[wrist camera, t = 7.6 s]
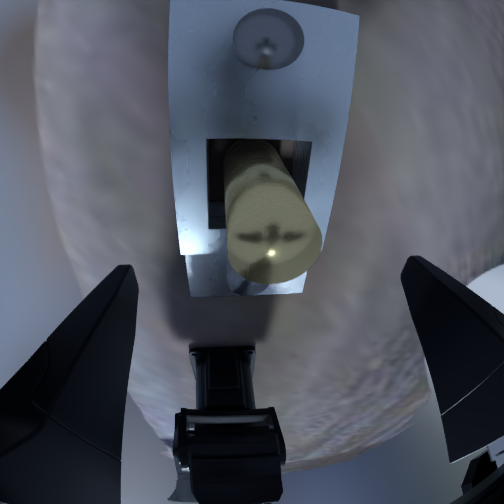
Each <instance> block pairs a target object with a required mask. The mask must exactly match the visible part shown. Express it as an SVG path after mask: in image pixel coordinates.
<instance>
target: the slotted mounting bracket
mask: <svg viewBox="0 0 504 504" xmlns="http://www.w3.org/2000/svg"><path fill="white" fill-rule="evenodd" d="M358 29H359V16H358V15H354V14H350V13H347V12H343V11H339V10H334V9H330V8H325V7H321V6H315V5H310V4H304V3H298V2H291V1H284V0H170V14H169V41H168V98H169V127H170V146H171V162H172V175H173V187H174V198H175V208H176V218H177V227H178V236H179V244H180V252H181V255H185V258H186V266H187V274H188V281H189V288H190V295H191V297H215V296H251V295H268V294H288V293H302V290H303V286H304V282H305V278H306V274H307V271H306V272H305V273H304V274H302V275H300V276H299V277H297V278H295V279H293V280H290V281H287V282H284V283H279V284H260V283H255V282H252V281H249V280H247V279H245V278H243V277H242V276H240V275H239V274H238V273H237V272H236V271H235V270H234V269H233V267H232V265H231V263H230V261H229V258H228V250H227V233H226V214H225V202H210V194H209V139H220V138H245V139H279V140H295V147H294V155H293V164H292V173H291V177H292V179H293V180H294V182H295V184H296V186H297V188H298V189H299V191H300V193H301V195H302V197H303V198H304V200H305V202H306V204H307V206H308V207H309V209H310V211H311V213H312V215H313V217H314V219H315V221H316V222H317V224H318V226H319V228H320V231H321V234H322V248H323V244H324V240H325V235H326V231H327V227H328V222H329V218H330V213H331V209H332V204H333V199H334V194H335V189H336V184H337V179H338V174H339V169H340V164H341V158H342V153H343V147H344V141H345V135H346V129H347V123H348V116H349V109H350V102H351V95H352V87H353V79H354V71H355V62H356V52H357V41H358ZM321 251H322V249H321Z"/></svg>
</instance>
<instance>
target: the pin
mask: <svg viewBox="0 0 504 504" xmlns="http://www.w3.org/2000/svg"><path fill="white" fill-rule="evenodd" d="M223 170H224V193H225V214H226V233H227V250H228V258H229V261H230V263H231V265H232V267H233V269H234V270H235V271H236V272H237V273H238V274H239V275H240V276H242V277H243V278H245V279H247V280H249V281H252V282H255V283H260V284H279V283H284V282H287V281H290V280H293V279H295V278H297V277H299V276H300V275H302V274H304V273H305V272H306V271H307V270H308V269H309V268H311V267H312V265H313V264H314V263H315V262H316V260H317V258H318V257H319V254H320V252H321V249H322V234H321V231H320V228H319V226H318V224H317V222H316V221H315V219H314V217H313V215H312V213H311V211H310V209H309V207H308V206H307V204H306V202H305V200H304V198H303V197H302V195H301V193H300V191H299V189H298V188H297V186H296V184H295V182H294V180H293V179H292V177H291V175H290V174H289V172H288V170H287V168H286V167H285V165H284V163H283V161H282V160H281V158H280V156H279V155H278V153H277V151H276V150H275V148H274V147H273V146H272V145H271V144H270V143H269V142H267V141H265V140H263V139H245V138H244V139H241V140H239V141H237V142H236V143H234V144H233V145H232V146H231V147H230V148H229V149H228V150H227V152H226V154H225V157H224V161H223Z"/></svg>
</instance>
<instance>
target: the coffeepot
mask: <svg viewBox="0 0 504 504" xmlns="http://www.w3.org/2000/svg"><path fill="white" fill-rule="evenodd" d="M174 460H175V466H176V470H177V474H178V480H177V484H176V489H175V491H174V492H173V494H172V495H171V496H170V498H168V500H169V501H172V502H176V503H180V504H199V503H198V502H197V500H196V499H195V497H194V495H193V494H192V492H191V486H190V473H189V472H186V471H182V470H181V464H179V460H178V459H176V458H175V457H174Z"/></svg>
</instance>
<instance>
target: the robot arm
mask: <svg viewBox="0 0 504 504" xmlns="http://www.w3.org/2000/svg"><path fill="white" fill-rule="evenodd" d="M401 282H402V286H403V289H404V292H405V296H406V299H407V303H408V306H409V310H410V313H411V317H412V320H413V322H414V325H415V328H416V331H417V334H418V337H419V340H420V343H421V346H422V349H423V352H424V355H425V358H426V361H427V365H428V368H429V371H430V375H431V378H432V382H433V385H434V389H435V393H436V397H437V401H438V405H439V409H440V413H441V419H442V423H443V428H444V433H445V439H446V444H447V450H448V456H449V461H450V463H453V462H455V461H457V460H459V459H462V458H464V457H466V456H468V455H470V454H472V453H474V452H476V451H478V450H480V449H482V448H484V447H485V446H486V447H487V450H485V451H484V452H482V453H481V454H480V455H478V456H477V457H476V458H474V459H473V460H471V461H470V464H469V467H468V470H467V473H466V476H465V478H464V481H463V483H462V486H461V488H462V492H463V495H462V496H461V497H459V498H458V499H457V500H455V501H453V502H452V503H450V504H504V314H503V313H501V312H500V311H499V310H497V309H496V308H495V307H492V305H491V304H489V303H488V302H486V301H485V300H484V299H482V298H481V297H480V296H478V295H477V294H475V293H474V292H473V291H472V290H470V289H469V288H467V287H466V286H465V285H463V284H462V283H460V282H459V281H457V280H456V279H454V278H453V277H452V276H450V275H449V274H447V273H446V272H444V271H443V270H441V269H440V268H438V267H437V266H435V265H434V264H432V263H430V262H429V261H427V260H426V259H424V258H423V257H421V256H418V255H417V256H410V257H409V258H408V259H407V261H406V264H405V266H404V268H403V270H402V272H401ZM138 293H139V288H138V283H137V280H136V276H135V273H134V269H133V267H132V266H131V265H118V266H117V267H116V268H115V269H114V270H113V271H112V272H111V273H110V274H109V275H107V276H106V277H105V278H104V279H103V280H102V281H101V282H100V283H99V284H98V285H97V286H96V287H95V288H94V289H93V290H92V291H91V292H90V293H89V294H88V295H87V296H86V297H85V298H84V299H83V300H82V302H81V303H80V304H79V305H78V306H77V307H76V308H75V309H74V310H73V311H72V312H71V313H70V314H69V315H68V316H67V317H66V318H65V319H64V321H63V322H62V323H61V324H60V325H59V326H58V327H57V328H56V329H55V331H53V333H52V334H51V335H50V336H49V337H48V338H47V341H45V342H44V343H43V344H42V345H41V346H40V347H39V348H38V350H37V351H36V352H35V353H34V354H33V355H32V356H31V357H30V359H29V360H28V361H27V362H26V363H25V364H24V365H23V366H22V367H21V368H20V369H19V370H18V371H17V372H16V373H15V375H14V376H13V377H12V378H11V379H10V380H9V381H8V382H7V383H6V384H5V385H4V386H3V387H2V388H1V389H0V504H121V498H120V497H121V461H120V460H121V451H122V437H123V424H124V413H125V403H126V395H127V387H128V379H129V372H130V365H131V359H132V352H133V346H134V340H135V331H136V316H137V304H138ZM255 354H256V351H255V348H254V347H234V348H199V349H190V350H189V357H190V361H191V365H192V369H193V373H194V376H195V380H196V409H187V408H181V412H180V413H176V414H175V432H174V442H173V456H174V457H175V458H176V459H178V460H179V464H181V470H182V471H186V472H189V473H190V486H191V492H192V494H193V495H194V497H195V499H196V500H197V502H198V503H199V504H271V503H272V502H278V501H279V499H280V497H281V495H282V493H283V488H282V481H281V468H283V467H284V465H285V462H286V448H285V443H284V439H283V435H282V432H281V429H280V425H279V422H278V419H277V415H276V412H275V408H274V407H268V408H263V409H256V407H255V399H254V391H253V383H252V378H253V371H254V363H255ZM189 428H194V430H189Z"/></svg>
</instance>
